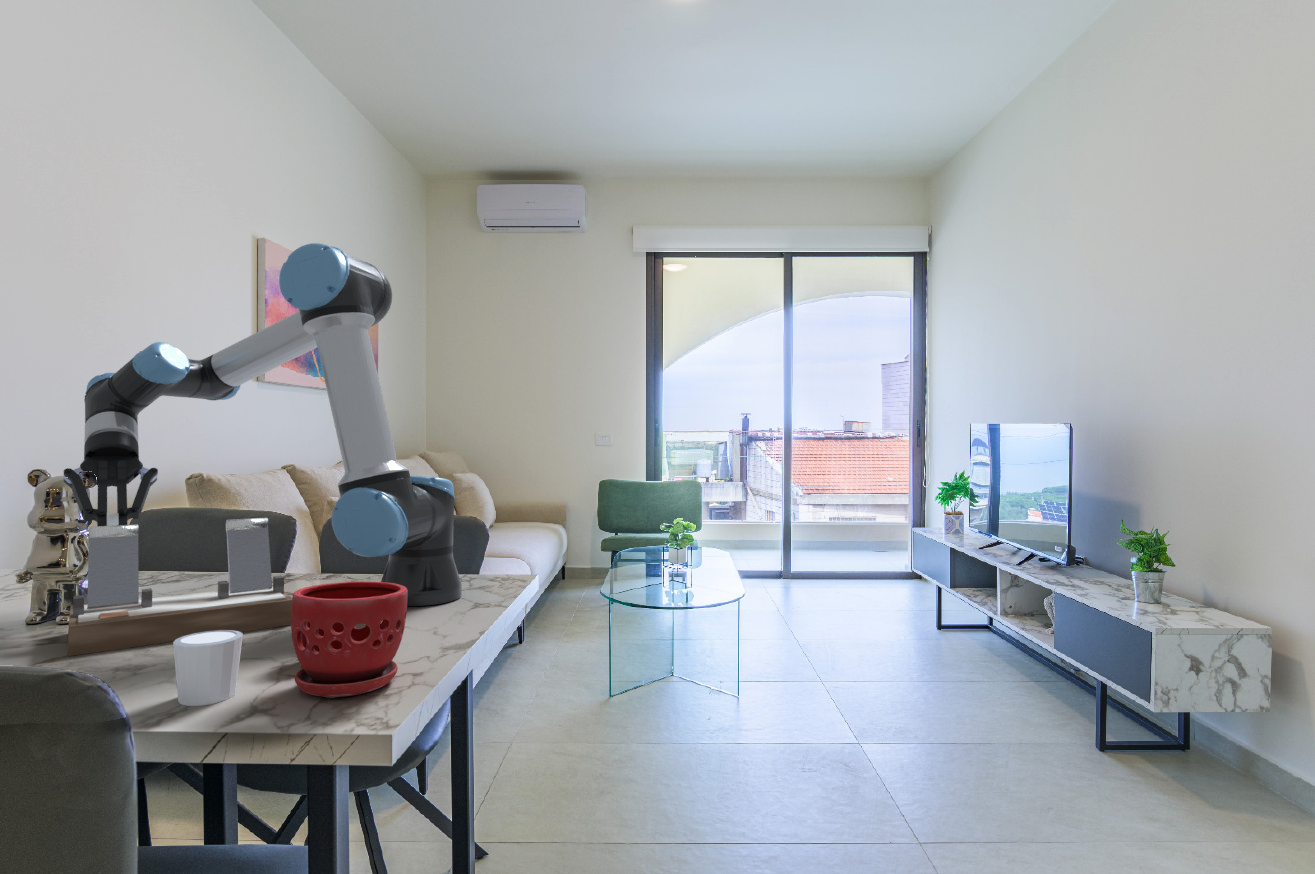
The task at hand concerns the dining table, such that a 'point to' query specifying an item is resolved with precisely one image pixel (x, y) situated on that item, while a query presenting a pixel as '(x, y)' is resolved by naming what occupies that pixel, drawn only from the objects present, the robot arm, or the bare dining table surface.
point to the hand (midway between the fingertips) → (112, 550)
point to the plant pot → (347, 636)
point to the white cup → (207, 666)
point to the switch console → (175, 617)
